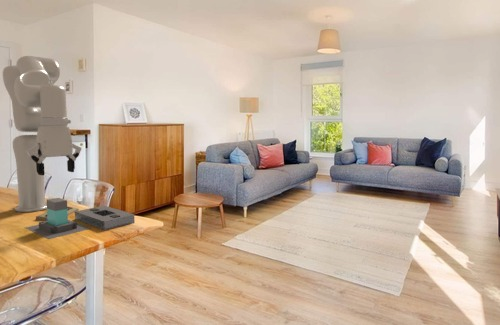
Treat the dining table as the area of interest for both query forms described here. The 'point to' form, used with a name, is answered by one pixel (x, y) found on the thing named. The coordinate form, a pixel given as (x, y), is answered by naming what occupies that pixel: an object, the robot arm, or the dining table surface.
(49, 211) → the plug
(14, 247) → the dining table surface
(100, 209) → the port block
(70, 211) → the computer
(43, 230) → the plate
